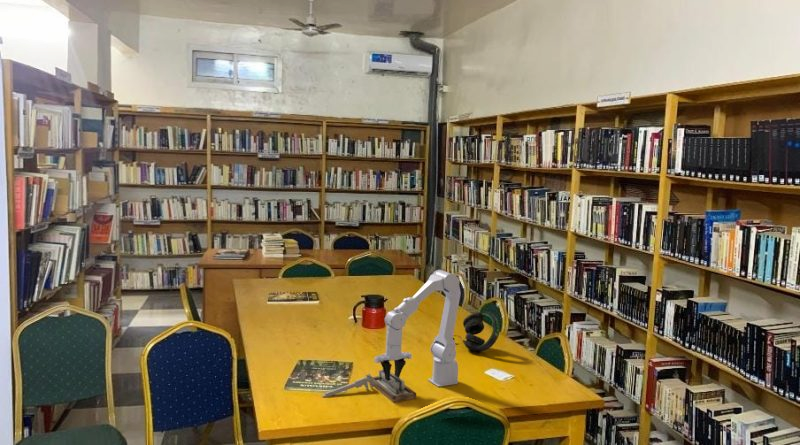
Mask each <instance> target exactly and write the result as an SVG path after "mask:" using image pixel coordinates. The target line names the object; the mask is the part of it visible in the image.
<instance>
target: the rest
mask: <svg viewBox="0 0 800 445" xmlns="http://www.w3.org/2000/svg"><path fill="white" fill-rule="evenodd" d="M372 378H373V387H374V388H375V389H376V390H377V391H379V393H381V394H382V395H383V396H384V397H386V398H387V399H388V400H390V401H391V402H392V403H396V402H402V401H408V400H413V399H414V400H415V399H417V393H416V392H415V391H414V390H413V389H411V388H410V387H408V386H407V385H406V384H405V385H404V392H400V391H399V393H395V392H394V391H392V390H391V389H389V388H388V387H387V386H385V385H384V384H382V383H381V382H380V381H379V375H377V376H372Z"/></svg>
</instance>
